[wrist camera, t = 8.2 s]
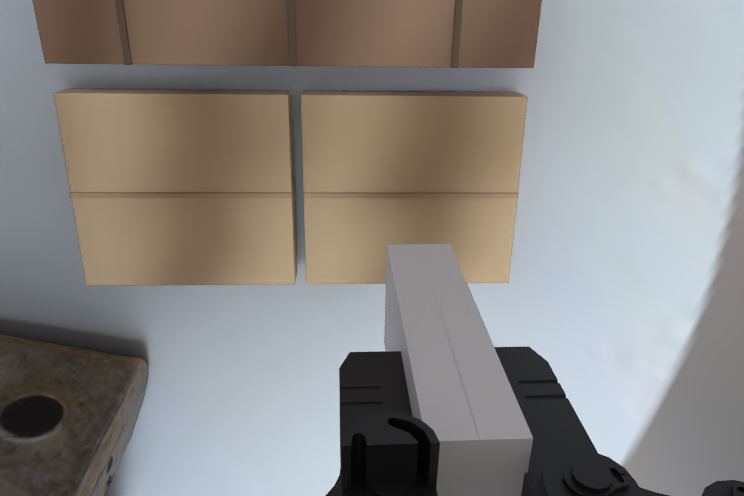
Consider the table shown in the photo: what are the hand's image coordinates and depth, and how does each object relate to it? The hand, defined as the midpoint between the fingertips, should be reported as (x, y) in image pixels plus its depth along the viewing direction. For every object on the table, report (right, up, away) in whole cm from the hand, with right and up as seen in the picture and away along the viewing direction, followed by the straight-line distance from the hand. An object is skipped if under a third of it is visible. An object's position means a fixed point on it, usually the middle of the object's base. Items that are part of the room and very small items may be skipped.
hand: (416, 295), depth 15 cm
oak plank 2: (0, +3, +7) cm, 7 cm away
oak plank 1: (-7, +3, +6) cm, 10 cm away
